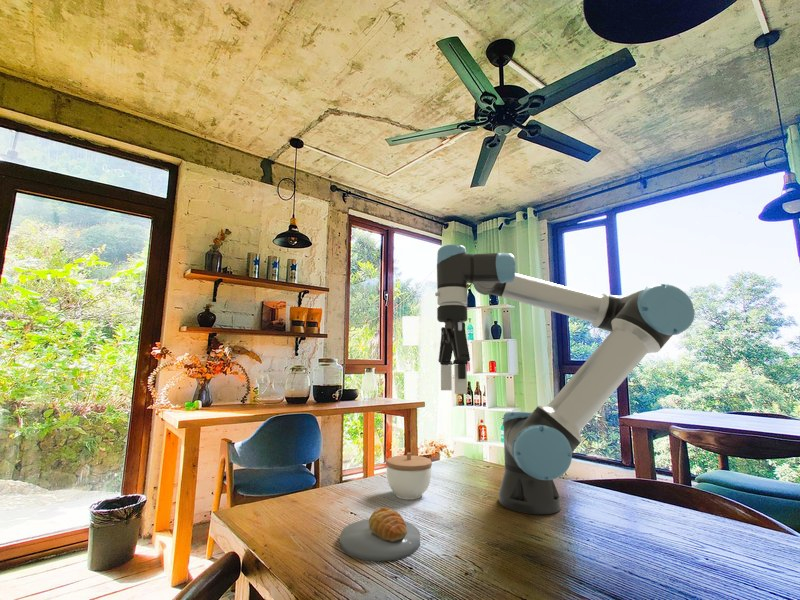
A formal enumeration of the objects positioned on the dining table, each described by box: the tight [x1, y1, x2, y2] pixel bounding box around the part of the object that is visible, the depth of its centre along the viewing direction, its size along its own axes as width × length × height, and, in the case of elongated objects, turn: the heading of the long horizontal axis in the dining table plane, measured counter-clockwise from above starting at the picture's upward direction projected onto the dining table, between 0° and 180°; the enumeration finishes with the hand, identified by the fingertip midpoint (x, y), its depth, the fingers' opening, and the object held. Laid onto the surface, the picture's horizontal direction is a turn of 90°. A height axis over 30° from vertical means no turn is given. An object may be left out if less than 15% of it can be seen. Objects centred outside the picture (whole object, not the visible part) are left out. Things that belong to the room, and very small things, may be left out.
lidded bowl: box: [385, 452, 433, 501], centre depth 108 cm, size 13×13×11 cm
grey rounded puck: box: [339, 518, 421, 562], centre depth 78 cm, size 16×16×2 cm
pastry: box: [368, 506, 407, 542], centre depth 78 cm, size 9×7×4 cm
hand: (453, 392), depth 95 cm, fingers open, 13 cm apart
